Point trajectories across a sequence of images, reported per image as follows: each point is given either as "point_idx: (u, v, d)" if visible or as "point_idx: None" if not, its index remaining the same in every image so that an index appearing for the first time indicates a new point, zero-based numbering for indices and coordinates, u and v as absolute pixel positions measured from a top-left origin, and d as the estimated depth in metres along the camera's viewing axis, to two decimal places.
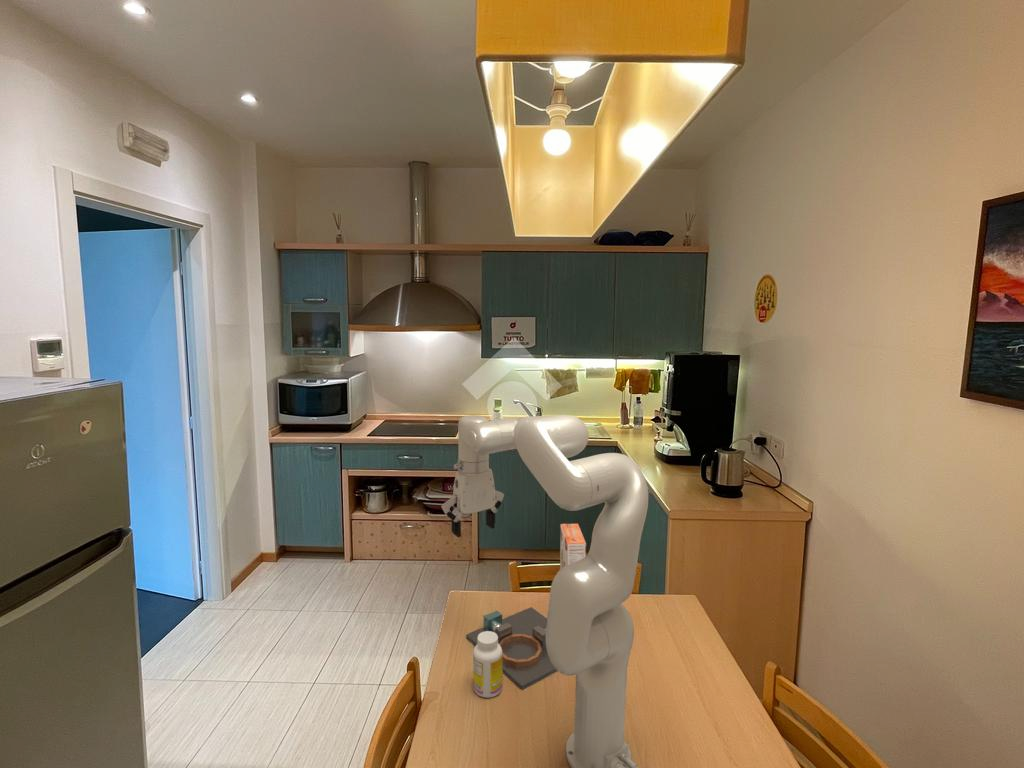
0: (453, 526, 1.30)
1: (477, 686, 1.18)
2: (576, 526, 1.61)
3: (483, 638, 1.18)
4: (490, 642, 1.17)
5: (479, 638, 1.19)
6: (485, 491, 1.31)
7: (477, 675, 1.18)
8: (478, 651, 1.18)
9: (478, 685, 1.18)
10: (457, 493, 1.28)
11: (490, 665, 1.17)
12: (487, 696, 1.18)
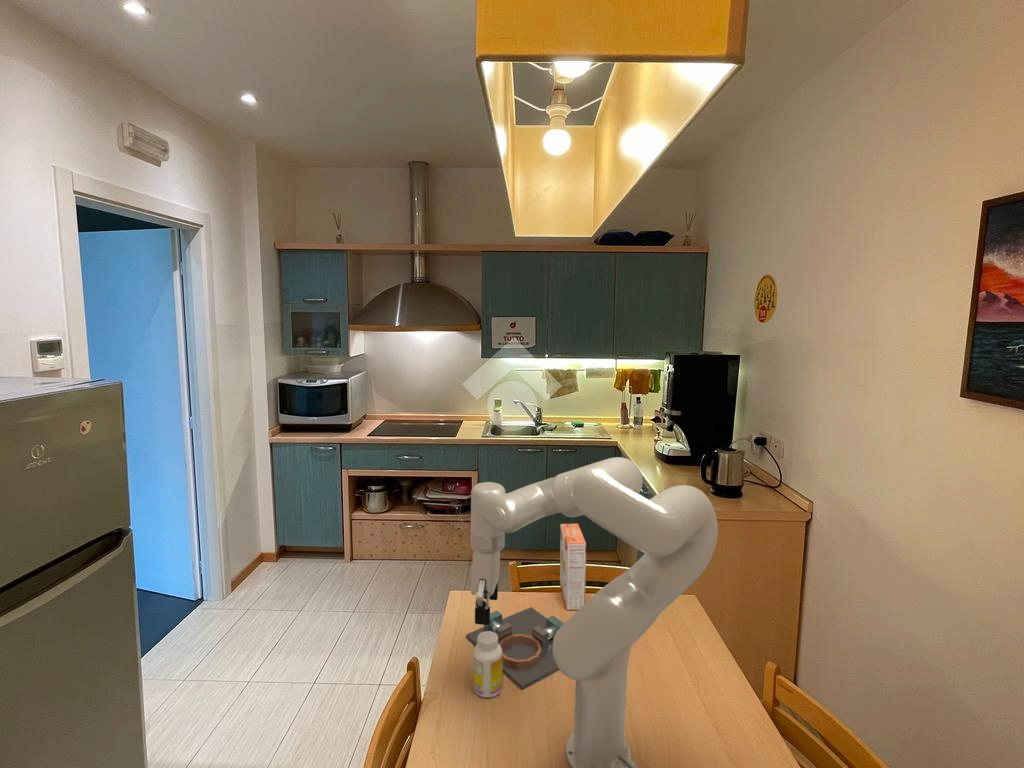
0: None
1: (477, 686, 1.18)
2: (576, 526, 1.61)
3: (483, 638, 1.18)
4: (490, 642, 1.17)
5: (479, 638, 1.19)
6: None
7: (477, 675, 1.18)
8: (478, 651, 1.18)
9: (478, 685, 1.18)
10: None
11: (490, 665, 1.17)
12: (487, 696, 1.18)
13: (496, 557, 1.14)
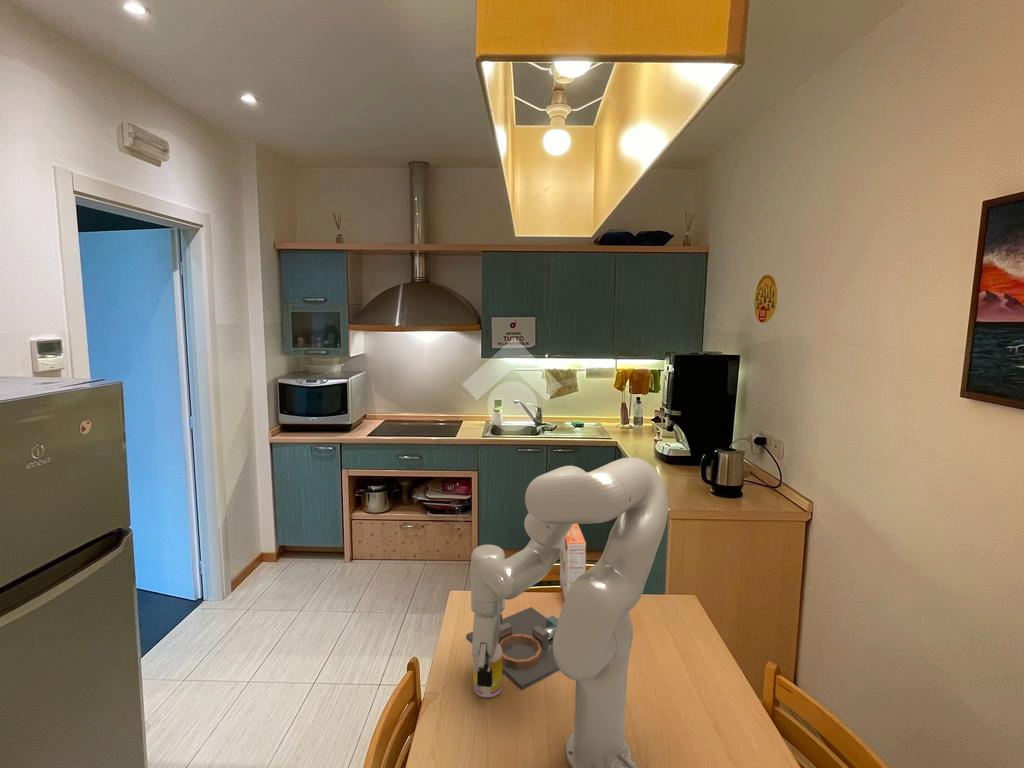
0: None
1: (477, 686, 1.18)
2: (576, 526, 1.61)
3: None
4: None
5: None
6: None
7: None
8: None
9: None
10: None
11: None
12: (487, 696, 1.18)
13: (496, 620, 1.16)
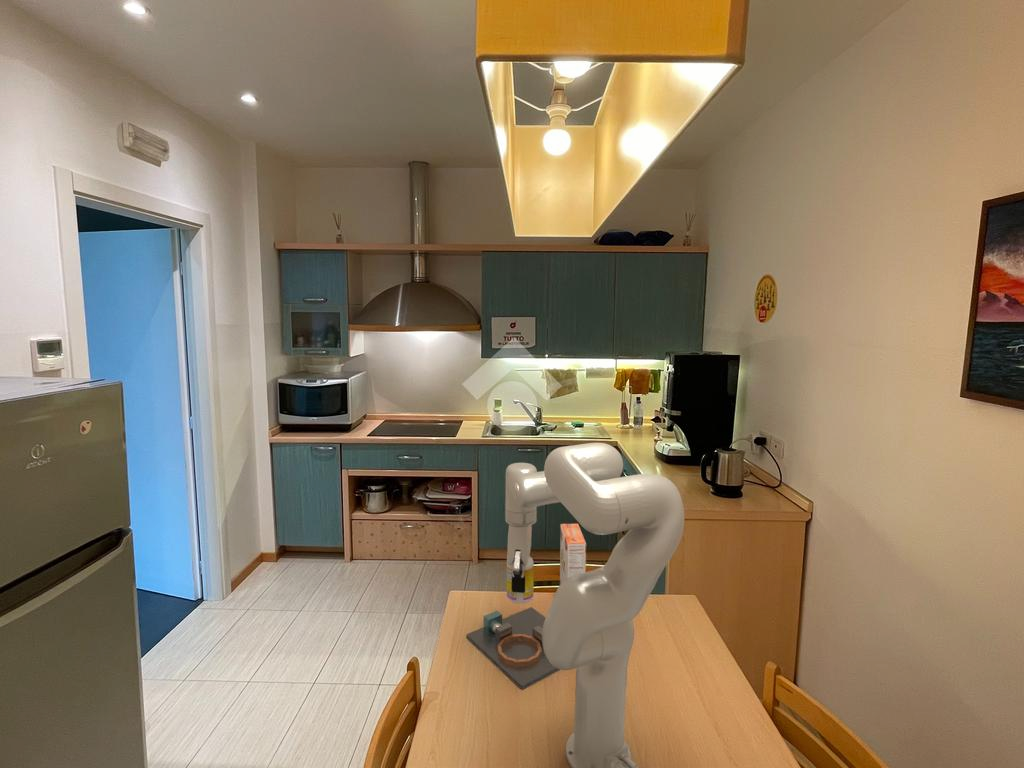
0: None
1: (510, 593, 1.28)
2: (576, 526, 1.61)
3: None
4: None
5: None
6: None
7: (511, 583, 1.27)
8: None
9: (512, 592, 1.27)
10: None
11: None
12: (520, 602, 1.27)
13: (529, 530, 1.25)
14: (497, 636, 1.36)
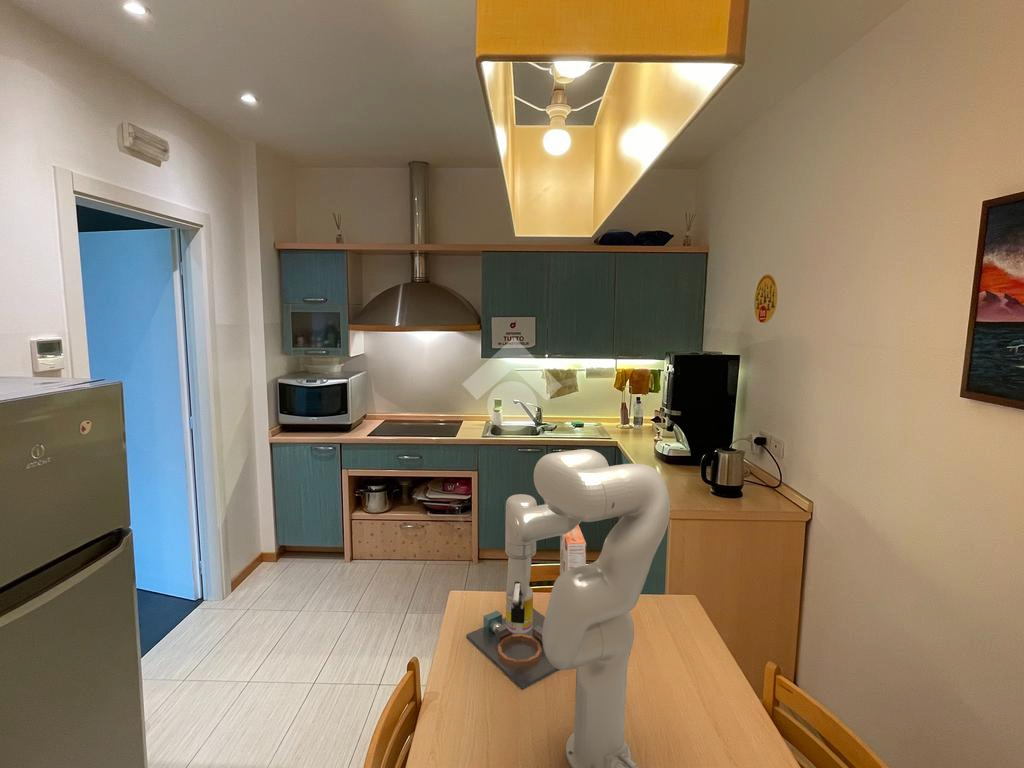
0: None
1: (510, 623, 1.29)
2: (576, 526, 1.61)
3: None
4: None
5: None
6: None
7: (510, 613, 1.28)
8: None
9: (511, 622, 1.28)
10: None
11: None
12: (519, 632, 1.28)
13: (529, 562, 1.26)
14: (497, 636, 1.36)
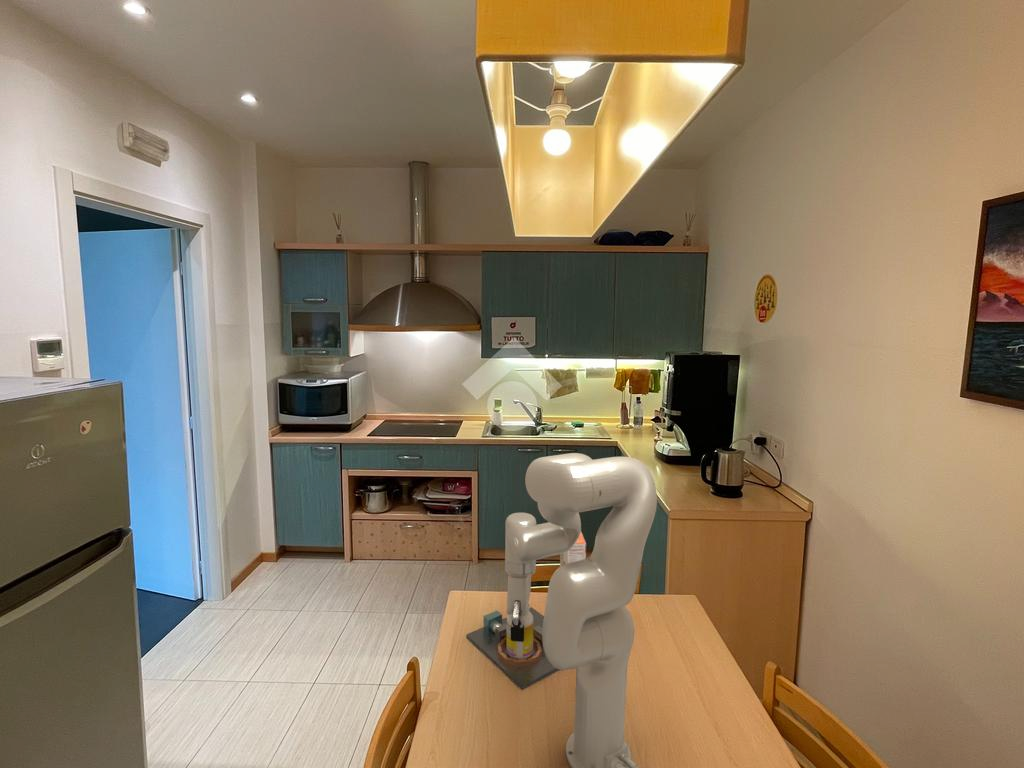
0: None
1: (510, 649, 1.29)
2: None
3: None
4: None
5: None
6: None
7: None
8: None
9: (512, 648, 1.29)
10: None
11: None
12: (520, 658, 1.29)
13: (529, 580, 1.27)
14: (497, 636, 1.36)
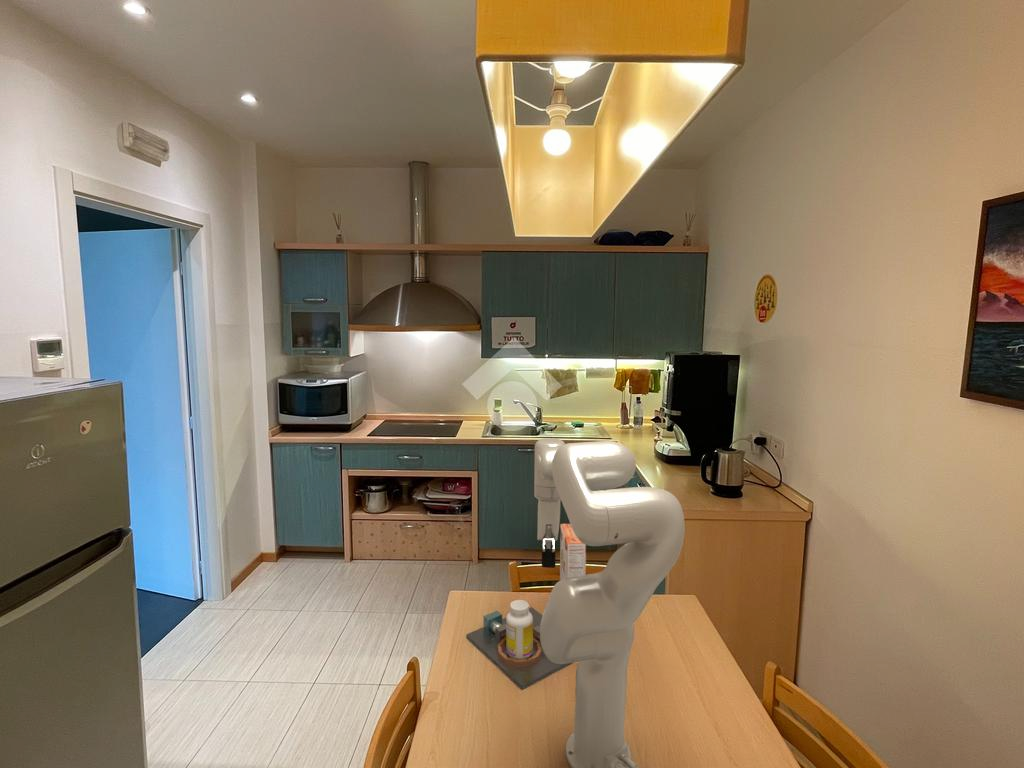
0: None
1: (510, 649, 1.29)
2: None
3: (515, 606, 1.30)
4: (522, 608, 1.28)
5: (512, 605, 1.30)
6: None
7: (510, 639, 1.29)
8: (511, 617, 1.29)
9: (512, 648, 1.29)
10: None
11: (522, 630, 1.28)
12: (520, 658, 1.29)
13: (559, 505, 1.25)
14: (497, 636, 1.36)
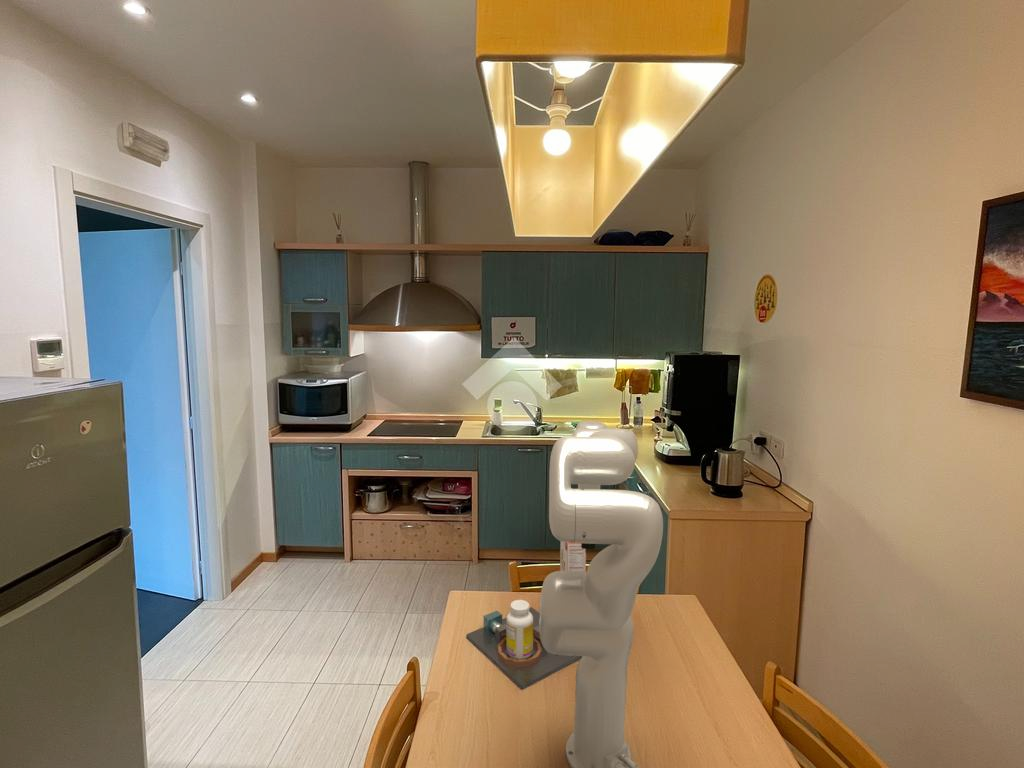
0: None
1: (510, 649, 1.29)
2: None
3: (516, 606, 1.30)
4: (522, 609, 1.28)
5: (512, 605, 1.30)
6: None
7: (510, 639, 1.29)
8: (511, 617, 1.29)
9: (512, 648, 1.29)
10: None
11: (523, 630, 1.28)
12: (520, 658, 1.29)
13: (599, 487, 1.25)
14: (497, 636, 1.36)
